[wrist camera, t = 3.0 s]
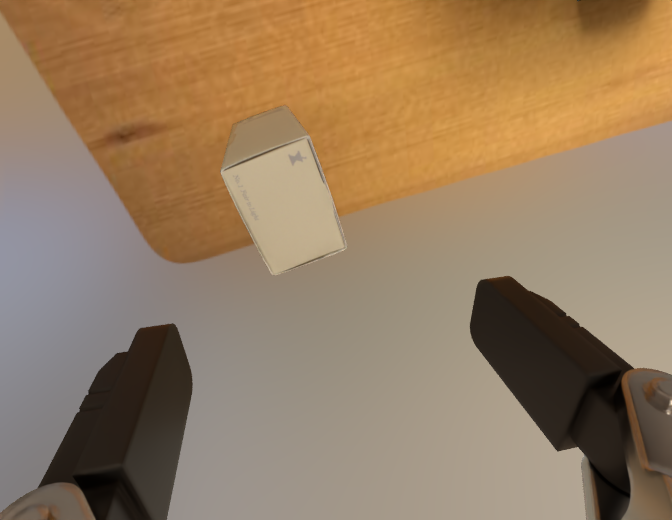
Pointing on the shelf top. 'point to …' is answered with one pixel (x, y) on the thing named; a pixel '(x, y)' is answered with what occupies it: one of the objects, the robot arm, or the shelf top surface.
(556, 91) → the shelf top surface
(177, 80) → the shelf top surface
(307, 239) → the cosmetic box
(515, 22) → the shelf top surface
